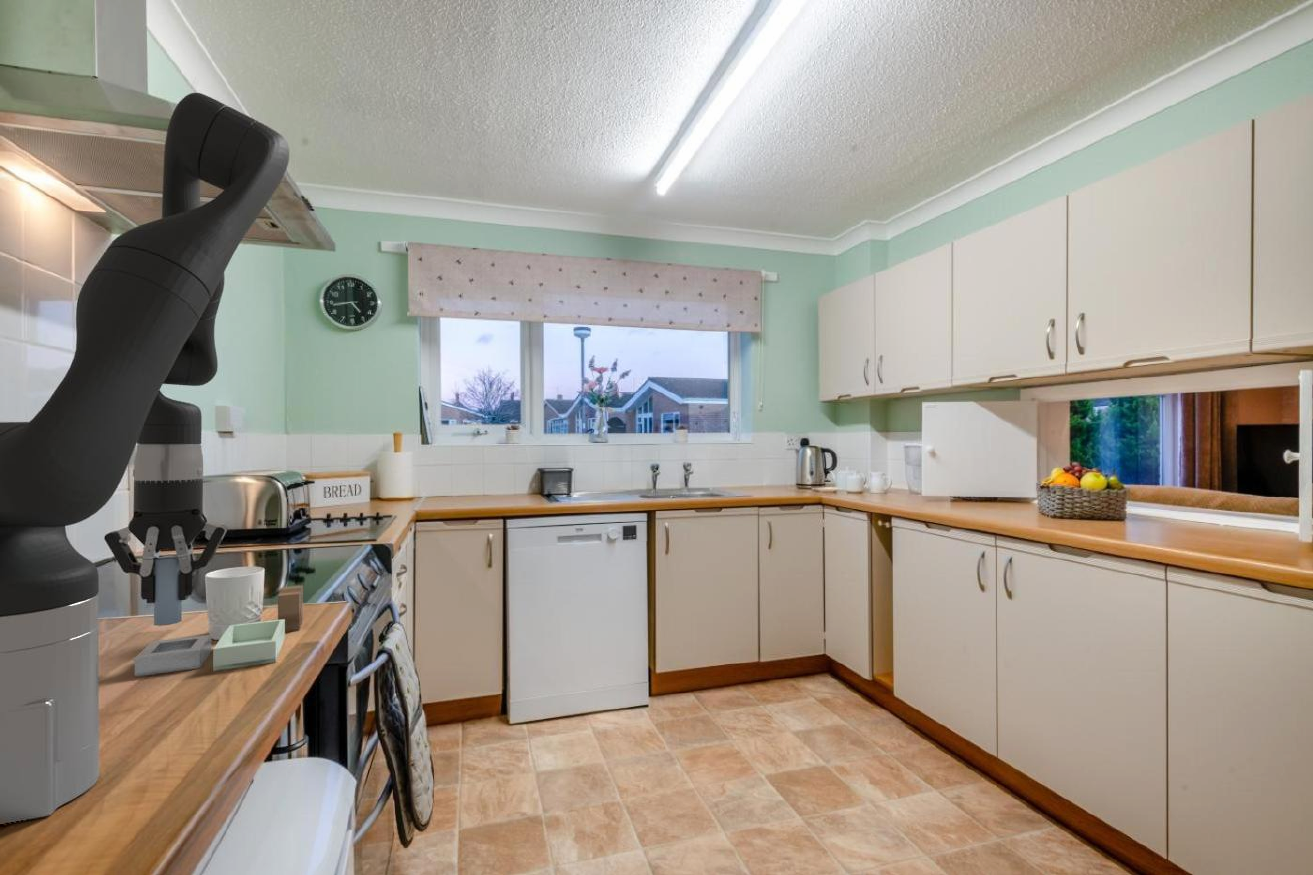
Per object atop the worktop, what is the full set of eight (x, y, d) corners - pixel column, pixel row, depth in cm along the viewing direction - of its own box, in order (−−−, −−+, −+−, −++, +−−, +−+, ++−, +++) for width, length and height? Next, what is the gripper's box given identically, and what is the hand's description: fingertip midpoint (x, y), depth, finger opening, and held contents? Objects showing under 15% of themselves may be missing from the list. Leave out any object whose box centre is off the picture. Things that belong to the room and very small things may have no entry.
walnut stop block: (299, 630, 98) (299, 593, 98) (277, 632, 97) (277, 595, 97) (302, 620, 104) (302, 585, 104) (282, 622, 102) (282, 587, 102)
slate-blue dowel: (178, 623, 83) (179, 558, 83) (151, 626, 82) (151, 560, 82) (183, 618, 86) (184, 555, 86) (157, 620, 84) (158, 556, 84)
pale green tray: (275, 662, 85) (275, 641, 85) (213, 671, 81) (213, 649, 81) (284, 638, 95) (284, 619, 95) (229, 645, 91) (229, 625, 91)
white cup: (226, 644, 92) (225, 579, 92) (193, 638, 95) (193, 574, 95) (275, 629, 99) (275, 568, 99) (244, 623, 102) (244, 564, 102)
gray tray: (199, 668, 82) (199, 649, 82) (134, 677, 79) (134, 658, 79) (211, 651, 89) (211, 634, 89) (151, 659, 86) (151, 641, 86)
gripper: (234, 474, 90) (233, 589, 90) (113, 476, 84) (111, 600, 84) (225, 477, 84) (224, 601, 83) (93, 479, 77) (91, 613, 77)
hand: (167, 599), depth 84 cm, fingers closed on slate-blue dowel, 3 cm apart
